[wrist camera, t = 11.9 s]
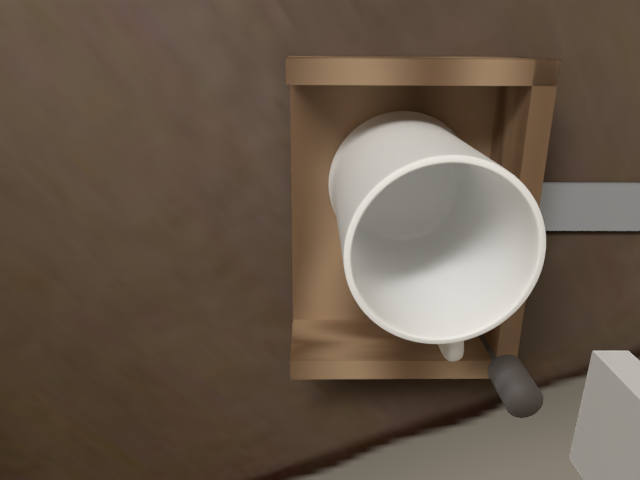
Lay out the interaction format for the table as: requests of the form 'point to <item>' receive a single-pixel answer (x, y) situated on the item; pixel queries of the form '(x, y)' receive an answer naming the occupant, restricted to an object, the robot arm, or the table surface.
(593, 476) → the robot arm
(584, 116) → the table surface
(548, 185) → the grey rectangular slab
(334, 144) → the keeper cradle
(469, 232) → the mug
